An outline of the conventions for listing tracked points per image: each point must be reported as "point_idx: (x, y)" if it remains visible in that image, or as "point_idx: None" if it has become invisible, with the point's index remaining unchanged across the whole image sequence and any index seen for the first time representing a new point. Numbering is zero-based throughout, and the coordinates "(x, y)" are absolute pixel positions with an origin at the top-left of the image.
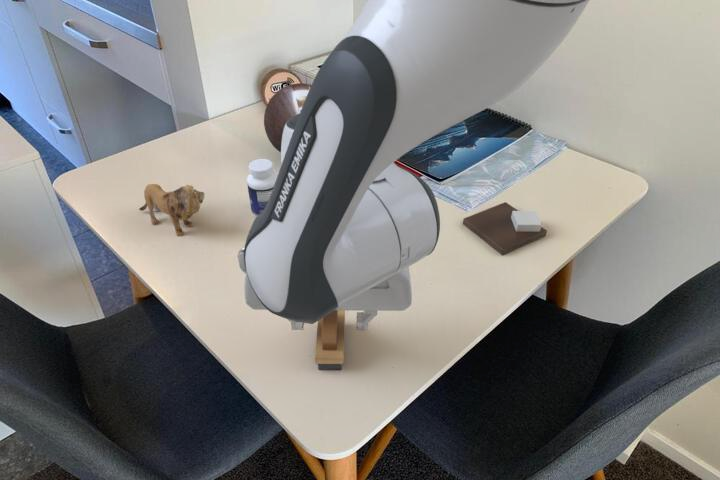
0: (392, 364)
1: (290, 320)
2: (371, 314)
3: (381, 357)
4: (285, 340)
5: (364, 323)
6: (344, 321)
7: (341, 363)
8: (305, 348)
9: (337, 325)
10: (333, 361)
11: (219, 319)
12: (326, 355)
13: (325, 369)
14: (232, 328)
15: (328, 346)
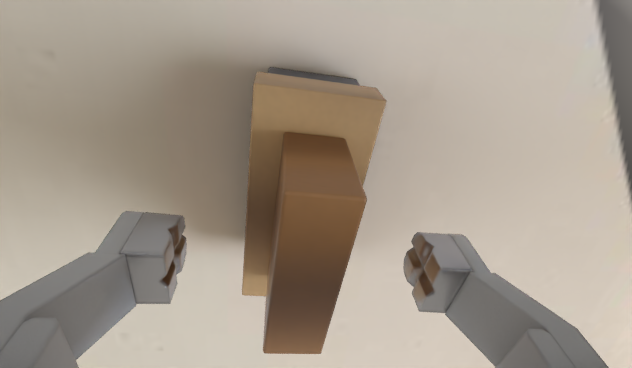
0: (55, 68)
1: (499, 281)
2: (23, 313)
3: (109, 107)
4: (434, 202)
5: (119, 247)
6: (244, 254)
7: (266, 73)
8: (382, 171)
9: (272, 242)
10: (301, 82)
11: (573, 270)
12: (333, 107)
13: (330, 76)
14: (556, 246)
15: (322, 146)
